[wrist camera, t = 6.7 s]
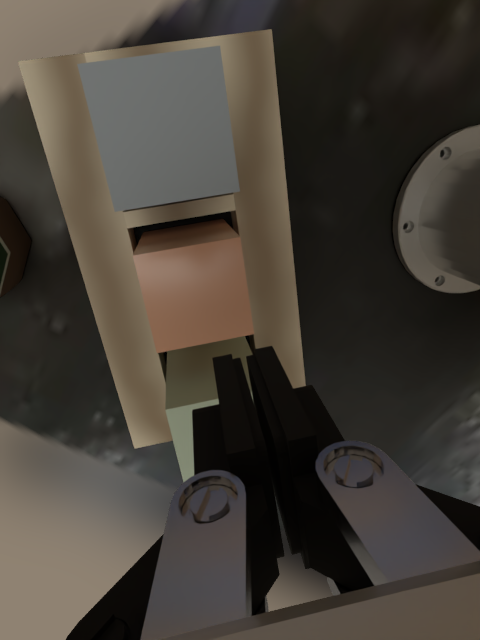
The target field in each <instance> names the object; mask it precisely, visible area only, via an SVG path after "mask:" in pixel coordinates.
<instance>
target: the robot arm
mask: <svg viewBox="0 0 480 640" xmlns="http://www.w3.org/2000/svg"><path fill="white" fill-rule="evenodd" d="M440 152H441V154H440ZM404 224H405V226H404ZM403 226H404V228H403ZM393 237H394V245H395V248H396V251H397V254H398V257H399V259H400V261H401V262H402V264H403V266H404V267H405V269H406V270H407V271H408V272H409V273H410V274H411V275H412V276H413V277H414V278H415V279H416V280H417V281H419V282H421V283H422V284H424V285H425V286H428V287H430V288H432V289H434V290H437V291H441V292H446V293H467V292H472V291H476V290H479V289H480V125H475V126H469V127H465V128H463V129H460V130H457V131H455V132H452V133H450V134H449V135H447V136H445V137H444V138H442V139H440V140H439V141H437V142H436V143H435V144H434V145H433V146H431V147H430V148H429V149H428V150H427V151H426V152H425V153H424V154H423V155H422V156H421V157H420V158H419V160H418V161H417V162H416V163H415V164H414V166H413V167H412V168H411V170H410V172H409V174H408V175H407V177H406V179H405V180H404V182H403V184H402V187H401V189H400V192H399V195H398V197H397V200H396V205H395V210H394V214H393ZM212 360H213V366H214V373H215V380H216V387H217V393H218V400H219V404H217V405H212V406H207V407H203V408H198V409H193V410H192V425H193V453H194V476H192V477H190V478H189V479H187V480H186V481H185V482H184V483H182V484H181V485H180V486H179V488H178V489H177V490H176V491H175V493H174V496H173V498H172V500H171V503H170V508H169V512H168V517H167V521H166V526H165V530H164V534H163V535H162V536H161V537H160V538H159V539H158V540H157V541H156V543H155V544H154V545H153V546H152V547H151V548H150V549H149V550H148V551H147V552H146V553H145V554H144V555H143V556H142V557H141V558H140V559H139V560H138V561H137V562H136V563H135V564H134V566H133V567H132V568H130V570H129V571H128V572H127V573H126V574H125V575H124V576H123V577H122V578H121V579H120V580H119V581H118V582H117V583H116V584H115V585H114V586H113V587H112V588H111V589H110V590H109V591H108V592H107V594H106V595H104V597H103V598H102V599H101V600H100V601H99V602H98V603H97V604H96V605H95V606H94V607H93V608H92V609H91V610H90V611H89V612H88V613H87V614H86V615H85V616H84V617H83V618H82V620H80V621H79V622H78V624H77V625H76V626H75V628H74V629H73V630H72V631H71V633H70V634H69V635H68V636H67V638H66V640H480V507H479V506H476V505H473V504H470V503H468V502H465V501H462V500H459V499H456V498H453V497H450V496H447V495H445V494H442V493H439V492H436V491H433V490H430V489H427V488H424V487H422V486H419V485H416V484H414V483H413V482H412V480H411V479H410V478H409V477H408V476H407V475H406V474H405V473H404V472H403V471H402V470H401V469H400V468H399V467H398V466H397V465H396V464H395V463H394V462H393V461H392V460H391V459H390V458H389V457H388V456H387V455H386V454H385V453H384V452H383V451H381V450H380V449H379V448H378V447H375V446H373V445H371V444H368V443H365V442H360V441H345V440H344V439H343V437H342V435H341V434H340V432H339V430H338V428H337V427H336V425H335V423H334V422H333V420H332V418H331V416H330V415H329V413H328V411H327V410H326V408H325V406H324V405H323V403H322V401H321V399H320V398H319V396H318V394H317V393H316V391H315V389H314V388H313V386H312V385H308V386H303V387H298V388H294V389H293V387H292V385H291V383H290V381H289V379H288V377H287V375H286V373H285V371H284V369H283V367H282V365H281V362H280V360H279V358H278V356H277V354H276V352H275V350H274V348H273V346H268V347H263V348H258V349H253V355H249V356H246V360H247V366H248V372H249V378H250V384H251V390H252V395H253V399H252V396H251V392H250V389H249V385H248V382H247V379H246V375H245V372H244V369H243V365H242V362H241V358H235V359H233V358H232V354H228V355H223V356H218V357H213V358H212ZM253 401H254V402H253ZM274 493H275V495H274ZM275 496H276V500H277V504H278V507H279V511H280V514H281V518H282V522H283V525H284V529H285V532H286V536H287V540H288V543H289V546H290V550H291V553H292V554H297V553H301V556H302V559H303V563H304V566H305V569H308V568H312V569H314V570H316V571H318V572H320V573H322V574H323V575H325V576H327V579H328V583H329V586H330V589H331V592H332V594H333V596H331V597H327V598H323V599H319V600H315V601H311V602H307V603H303V604H299V605H295V606H291V607H287V608H282V609H278V610H274V611H270V612H268V603H267V598H266V595H267V593H268V592H269V590H270V588H271V587H272V585H273V584H274V582H275V581H276V579H277V578H278V576H279V569H278V564H277V558H280V557H284V550H283V544H282V539H281V532H280V526H279V519H278V513H277V507H276V501H275Z"/></svg>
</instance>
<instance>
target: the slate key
mask: <svg viewBox="0 0 480 640" xmlns="http://www.w3.org/2000/svg"><path fill="white" fill-rule="evenodd" d="M77 65H78V69H79V73H80V77H81V81H82V85H83V89H84V93H85V97H86V101H87V105H88V109H89V112H90V116H91V120H92V124H93V128H94V132H95V136H96V140H97V144H98V148H99V152H100V156H101V160H102V164H103V167H104V171H105V175H106V179H107V183H108V187H109V191H110V195H111V199H112V203H113V207H114V211H115V212H117V211H124V210H130V209H136V208H142V207H148V206H154V205H160V204H166V203H173V202H179V201H185V200H191V199H197V198H203V197H209V196H215V195H221V194H228V193H234V192H240V188H239V181H238V173H237V166H236V159H235V151H234V144H233V137H232V130H231V122H230V115H229V108H228V101H227V93H226V86H225V79H224V71H223V64H222V57H221V50H220V46H213V47H205V48H198V49H190V50H182V51H174V52H167V53H159V54H151V55H143V56H136V57H128V58H120V59H112V60H105V61H97V62H89V63H81V64H77Z"/></svg>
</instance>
